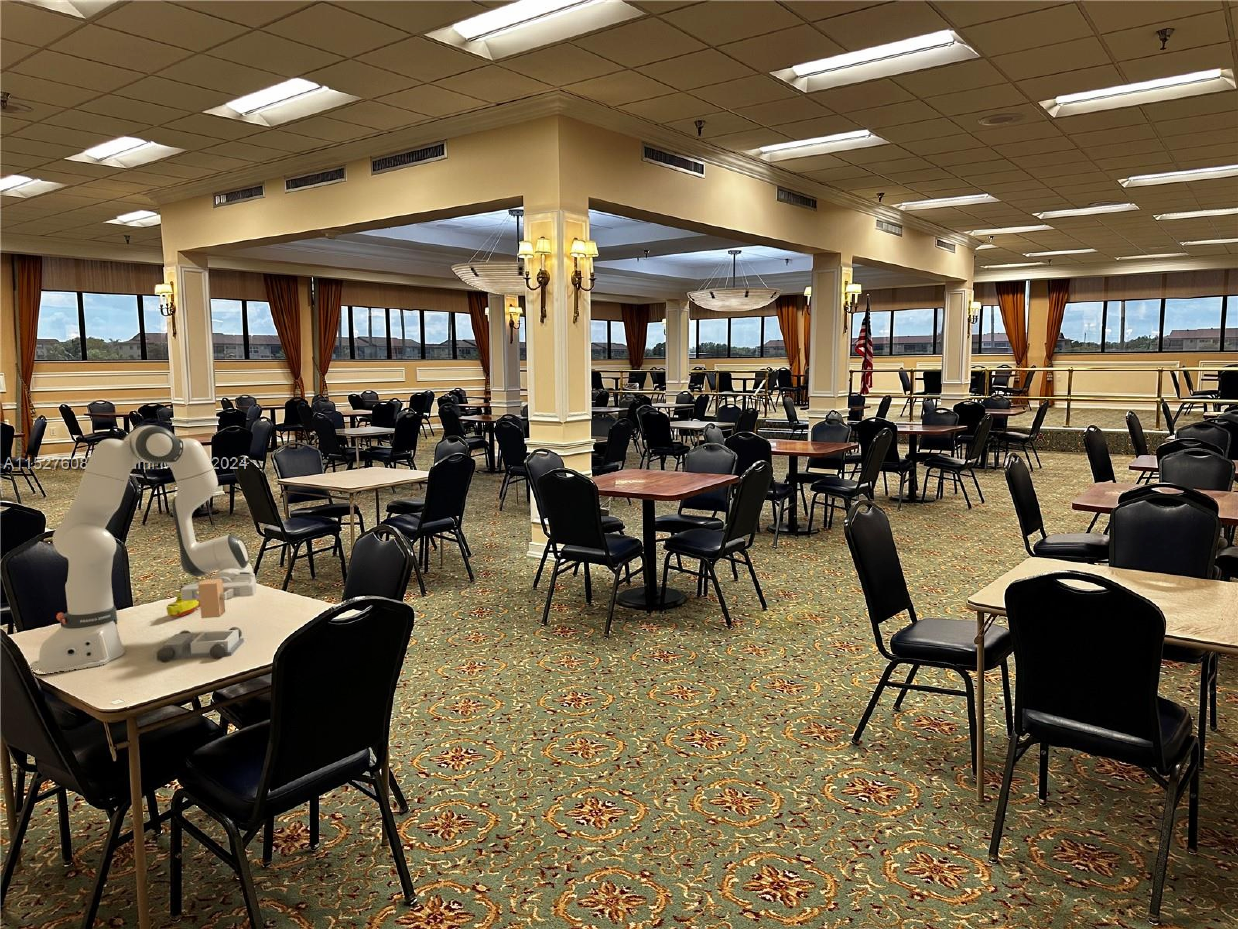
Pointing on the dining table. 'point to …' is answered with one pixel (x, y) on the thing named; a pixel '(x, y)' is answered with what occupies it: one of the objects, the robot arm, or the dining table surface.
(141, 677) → the dining table surface
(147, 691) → the dining table surface
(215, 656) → the chassis
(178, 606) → the toy boat
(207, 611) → the block
